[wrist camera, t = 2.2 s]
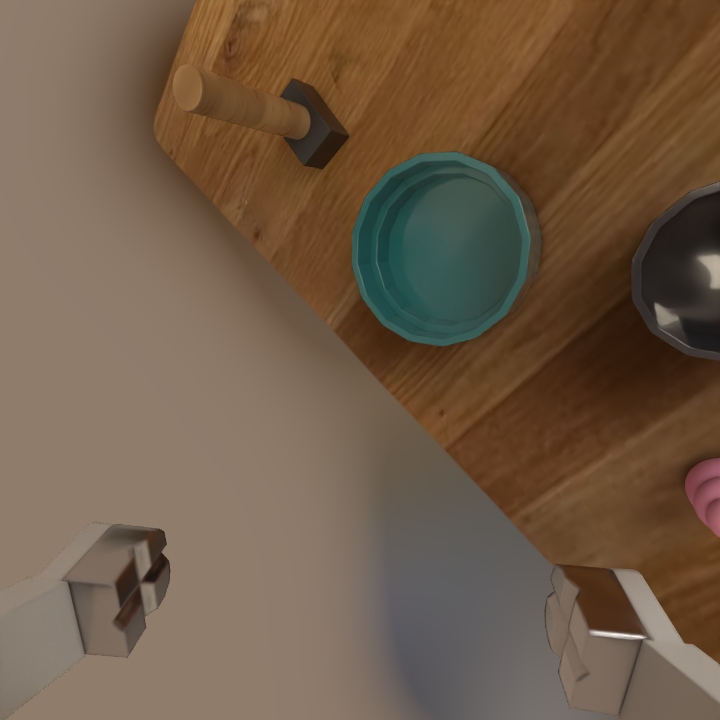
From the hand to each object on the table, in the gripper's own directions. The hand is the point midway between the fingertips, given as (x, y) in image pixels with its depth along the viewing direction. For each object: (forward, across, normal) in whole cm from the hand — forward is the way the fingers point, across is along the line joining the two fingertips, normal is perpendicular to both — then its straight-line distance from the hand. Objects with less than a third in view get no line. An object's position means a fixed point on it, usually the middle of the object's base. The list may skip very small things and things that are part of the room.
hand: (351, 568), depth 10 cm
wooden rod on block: (+40, +8, -13) cm, 42 cm away
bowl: (+33, -5, -3) cm, 34 cm away
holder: (+26, -22, -4) cm, 34 cm away
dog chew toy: (+24, -24, +11) cm, 36 cm away
